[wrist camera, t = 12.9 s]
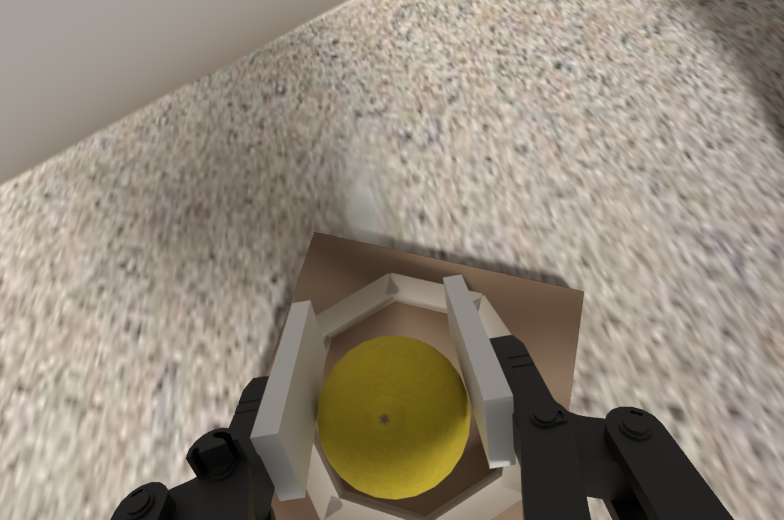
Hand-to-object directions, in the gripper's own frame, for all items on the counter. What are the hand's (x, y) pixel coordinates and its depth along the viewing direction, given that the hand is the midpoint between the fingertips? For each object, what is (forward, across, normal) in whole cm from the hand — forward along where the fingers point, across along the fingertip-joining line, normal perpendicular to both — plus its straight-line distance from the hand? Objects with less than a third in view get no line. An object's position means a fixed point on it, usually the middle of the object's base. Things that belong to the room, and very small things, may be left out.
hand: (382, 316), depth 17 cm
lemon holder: (+3, 0, -8) cm, 8 cm away
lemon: (0, 0, -5) cm, 5 cm away
